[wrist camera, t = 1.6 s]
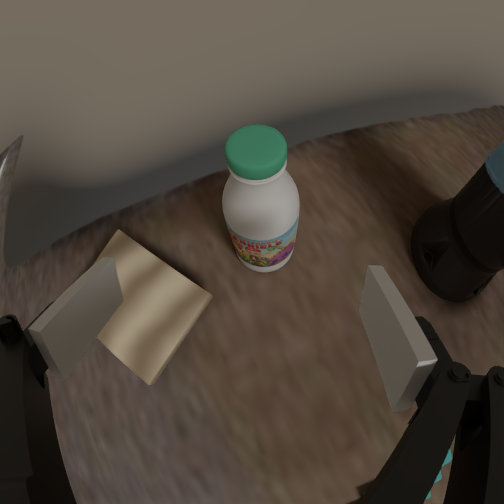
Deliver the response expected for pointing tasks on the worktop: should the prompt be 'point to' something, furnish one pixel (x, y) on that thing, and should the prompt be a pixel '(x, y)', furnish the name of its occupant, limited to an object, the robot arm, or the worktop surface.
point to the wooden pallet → (149, 309)
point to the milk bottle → (260, 198)
